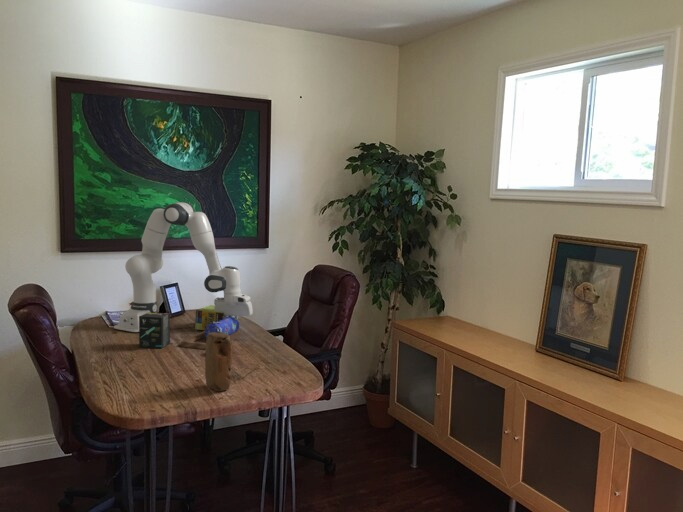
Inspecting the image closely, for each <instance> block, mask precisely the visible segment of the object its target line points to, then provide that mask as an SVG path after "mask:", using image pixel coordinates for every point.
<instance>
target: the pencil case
mask: <svg viewBox="0 0 683 512" xmlns="http://www.w3.org/2000/svg"><path fill="white" fill-rule="evenodd" d="M239 328H240V322H239V319H238V320H237V319H236V318H234V317H231V316H228V317H226V318H224V319H223V320H221V321H219V322H213V323H211V324H209V325H208V326H207V327H206V329H205V330H204V331H205V337H204V338H205V339H207V334H208V333H212V332H215V333H219V332H223V333H226V334H227V335H231V334H233V333H235V332H237V331H239Z"/></svg>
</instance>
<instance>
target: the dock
mask: <svg viewBox="0 0 683 512" xmlns="http://www.w3.org/2000/svg"><path fill="white" fill-rule="evenodd" d="M241 333H242V331H241V330H238V331H237V332H235V333H232V334H231V335H229V337H230V340H231V341H234V340H235V339H236V338H238V337H240V336H241V335H242V334H241ZM203 338H206V337H205V330H202V332H201V331H200V332H199V333H196V334H194V335H192V336H190V337H187V338H185V339H184V340H181V341H180V347H182V348H190V349H191V348H192V349H199V350H206V342H205V343H204V342H197V341H199V340H202V339H203Z"/></svg>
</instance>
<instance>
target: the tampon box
mask: <svg viewBox="0 0 683 512" xmlns="http://www.w3.org/2000/svg"><path fill="white" fill-rule="evenodd" d="M170 314H171V313H165V312H164V313H163V312H156V313H146V314H144V315H141V316H139V332H138V335H139V337H138V338H139V339H138V340H139V341H138V345H139V346H138V347H139V348H144V349H163V348H165V347H166V346H168V345H169V344H171V327H170V326H171V324H170V323H171V322H170V321H171V320H170Z"/></svg>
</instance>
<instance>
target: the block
mask: <svg viewBox="0 0 683 512" xmlns="http://www.w3.org/2000/svg"><path fill="white" fill-rule="evenodd" d="M205 339H206V338H205ZM205 343H206V349H205V364H204V366H205V367H204V368H205V369H204V370H205V371H204V373H205V374H204V375H205V384H206V386H207V387H208V388H209V389H210V390H213V391H218V392H221V391H222V392H223V391H226V390H229V388H230V386H231V377H232V376H231V369H232V364H233V363H232V361H233V346H232V340H230V337H229V335H227V334H226V333H223V332H219V333H215V332H212V333H208V334H207V339H206V342H205Z"/></svg>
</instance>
